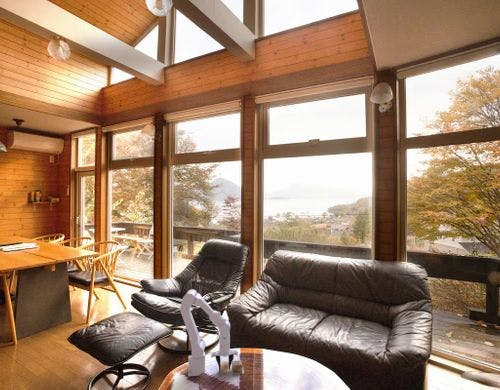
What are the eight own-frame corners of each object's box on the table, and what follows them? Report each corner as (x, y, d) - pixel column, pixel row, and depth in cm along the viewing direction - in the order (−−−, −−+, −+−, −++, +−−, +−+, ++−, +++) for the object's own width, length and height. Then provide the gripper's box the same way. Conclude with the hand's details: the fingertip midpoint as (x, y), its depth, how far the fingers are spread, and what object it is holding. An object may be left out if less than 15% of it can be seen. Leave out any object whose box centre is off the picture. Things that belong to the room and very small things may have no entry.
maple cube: (220, 374, 161) (220, 365, 162) (219, 370, 166) (220, 361, 166) (228, 373, 162) (229, 365, 162) (228, 369, 167) (228, 361, 167)
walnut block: (233, 373, 162) (233, 365, 162) (232, 368, 167) (232, 361, 167) (242, 372, 163) (242, 364, 163) (240, 367, 167) (241, 360, 168)
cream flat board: (229, 375, 160) (229, 374, 160) (228, 367, 169) (228, 366, 169) (249, 373, 162) (249, 372, 162) (247, 365, 171) (247, 364, 171)
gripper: (211, 348, 159) (211, 374, 159) (238, 346, 162) (238, 371, 161) (211, 342, 166) (210, 367, 166) (236, 340, 169) (236, 365, 168)
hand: (224, 369), depth 164 cm, fingers closed on maple cube, 4 cm apart
